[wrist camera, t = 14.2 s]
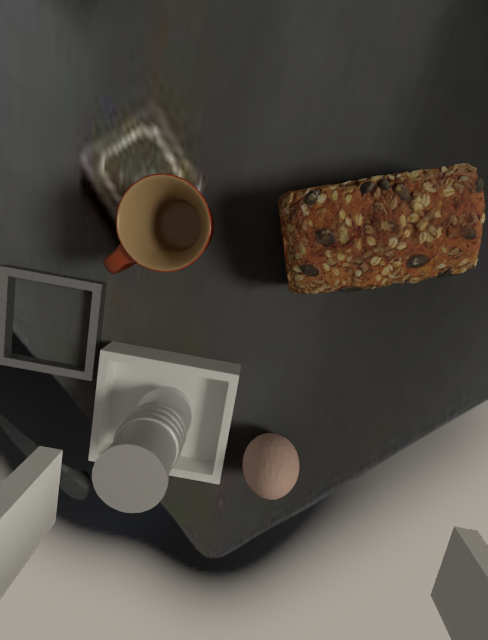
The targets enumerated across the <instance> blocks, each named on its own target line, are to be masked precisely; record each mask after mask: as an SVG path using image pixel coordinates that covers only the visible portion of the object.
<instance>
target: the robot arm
mask: <svg viewBox="0 0 488 640" xmlns="http://www.w3.org/2000/svg"><path fill="white" fill-rule="evenodd" d="M62 452H63V451H62V450H59V449H53V448H48V447H43V446H39V447H38V448H37V449H36V450H35V451H34V452H33V453H32V454H31V455H30V456H29V457H28V458H27V459H26V460H25V461H24V462H23V463H22V464H21V465H20V466H19V467H18V468H16V470H14V471H13V472H12V473H11V474H10V475H9V476H8V477H7V478H6V479H5V480H4V481H3V482H2V483H1V484H0V599H1V598H2V596H3V595H4V593H5V592H6V590H7V589H8V588H9V586H10V585H11V584H12V582H13V581H14V579H15V578H16V576H17V575H18V574H19V572H20V571H21V569H22V568H23V567H24V565H25V564H26V562H27V561H28V560H29V558H30V557H31V555H32V554H33V553H34V551H35V550H36V548H37V547H38V546H39V544H40V543H41V541H42V540H43V539H44V537H45V536H46V534H47V533H48V531H49V530H50V529H51V527H52V526H53V524H54V523H55V520H56V510H57V500H58V490H59V481H60V472H61V462H62ZM431 597H432V599H433V601H434V603H435V605H436V607H437V609H438V612H439V614H440V616H441V618H442V620H443V622H444V625H445V627H446V629H447V631H448V633H449V635H450V637H451V640H488V545H487V544H486V542H485V541H484V540H483V538H482V537H481V536H480V534H479V533H478V531H475V530H470V529H465V528H460V527H454V529H453V532H452V535H451V538H450V540H449V543H448V546H447V549H446V552H445V555H444V558H443V561H442V564H441V566H440V569H439V572H438V575H437V578H436V581H435V584H434V587H433V590H432V593H431Z"/></svg>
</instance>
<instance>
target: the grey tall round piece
mask: <svg viewBox="0 0 488 640" xmlns="http://www.w3.org/2000/svg"><path fill="white" fill-rule="evenodd" d="M191 421H192V414H191V404H190V402H189V399H188V398H187V396H186V395H185V394H184V393H183V392H182V391H180V390H179V389H176V388H174V387H169V386H164V387H159V388H156V389H154V390H153V391H151V392H149V393H147V394H146V395H145V396H143V397H142V398H141V400H140V401H139V402H138V404H137V406H136V407H135V408H134V409H133V410H132V411H131V413H130V414H128V415H127V417H126V418H125V420H124V421H123V422H122V424H121V425H120V426H119V428H118V429H117V430H116V432H115V435H114V438H113V443H112V444H111V445H110V447H109V448H107V449H106V450H104V451H103V452H102V453H101V455H100V456H99V457H98V458H97V460H96V461H95V464H94V467H93V471H92V481H93V485H94V488H95V490H96V492H97V494H98V496H99V497H100V498H101V499H102V500H103V501H104V502H105V503H106V504H108V505H109V506H111V507H112V508H114V509H116V510H119V511H121V512H127V513H139V512H143V511H146V510H149V509H151V508H153V507H154V506H156V505H157V504H158V503H159V502H160V501H161V499H162V498H163V497H164V494H165V492H166V490H167V487H168V476H169V474H170V471H171V469H172V468H173V467H174V466H175V465H176V463H177V461H178V459H179V456H180V453H181V451H182V448H183V445H184V443H185V440H186V437H187V432H188V430H189V427H190V425H191Z"/></svg>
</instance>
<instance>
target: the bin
mask: <svg viewBox="0 0 488 640" xmlns="http://www.w3.org/2000/svg"><path fill="white" fill-rule="evenodd" d="M240 368H241V364H236V363H230V362H225V361H219V360H214V359H208V358H203V357H197V356H192V355H186V354H181V353H175V352H170V351H164V350H159V349H153V348H148V347H142V346H137V345H131V344H126V343H120V342H115V341H112V342H111V343H109V344H108V345H107V346H105V347H104V348H102V349H101V350H100V357H99V367H98V376H97V385H96V395H95V404H94V413H93V423H92V432H91V441H90V451H89V461H94V462H95V461H96V460H97V458H98V457H99V456H100V455H101V453H102V452H103V451H104V450H106V449H107V448H109V447H110V445H111V444H112V443H113V438H114V435H115V432H116V430H117V429H118V428H119V426H120V425H121V424H122V422H123V421H124V420H125V418H126V417H127V415H128V414H130V413H131V411H132V410H133V409H134V408H135V407H136V406H137V404H138V402H139V401H140V400H141V398H142V397H143V396H145V395H146V394H147V393H149V392H151V391H153V390H154V389H156V388H159V387H164V386H169V387H174V388H176V389H179V390H180V391H182V392H183V393H184V394H185V395H186V396H187V398H188V399H189V402H190V404H191V414H192V421H191V425H190V427H189V430H188V432H187V437H186V440H185V443H184V445H183V448H182V451H181V453H180V456H179V459H178V461H177V463H176V465H175V466H174V467H173V468H172V469H171V471H170V474H169V475H170V476H176V477H181V478H187V479H192V480H198V481H203V482H209V483H214V484H220V478H221V473H222V467H223V462H224V457H225V451H226V446H227V440H228V435H229V429H230V424H231V418H232V413H233V407H234V402H235V397H236V391H237V386H238V380H239V375H240Z"/></svg>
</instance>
